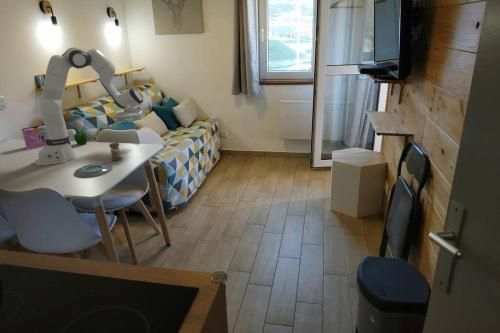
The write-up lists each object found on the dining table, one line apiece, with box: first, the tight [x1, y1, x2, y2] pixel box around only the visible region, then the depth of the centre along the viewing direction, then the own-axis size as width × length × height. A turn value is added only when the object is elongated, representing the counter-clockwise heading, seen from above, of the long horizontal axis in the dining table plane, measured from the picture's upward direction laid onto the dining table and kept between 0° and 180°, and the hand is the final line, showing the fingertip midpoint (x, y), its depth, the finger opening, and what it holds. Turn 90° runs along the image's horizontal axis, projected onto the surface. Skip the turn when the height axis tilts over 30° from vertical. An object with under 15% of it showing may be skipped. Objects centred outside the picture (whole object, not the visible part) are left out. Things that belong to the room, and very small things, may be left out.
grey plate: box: [74, 162, 113, 179], centre depth 200 cm, size 20×20×2 cm
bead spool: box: [108, 142, 122, 162], centre depth 215 cm, size 6×6×10 cm
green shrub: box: [73, 129, 88, 146], centre depth 248 cm, size 8×8×10 cm
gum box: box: [21, 124, 48, 150], centre depth 249 cm, size 24×8×14 cm, turn 135°
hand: (121, 121), depth 219 cm, fingers open, 8 cm apart
